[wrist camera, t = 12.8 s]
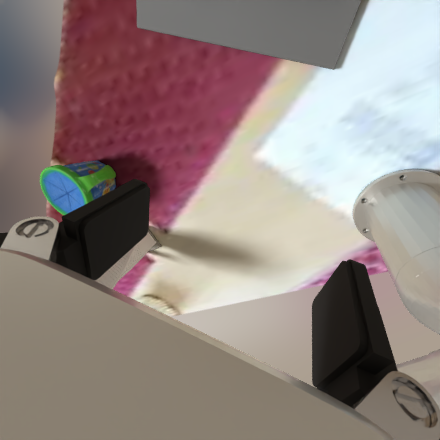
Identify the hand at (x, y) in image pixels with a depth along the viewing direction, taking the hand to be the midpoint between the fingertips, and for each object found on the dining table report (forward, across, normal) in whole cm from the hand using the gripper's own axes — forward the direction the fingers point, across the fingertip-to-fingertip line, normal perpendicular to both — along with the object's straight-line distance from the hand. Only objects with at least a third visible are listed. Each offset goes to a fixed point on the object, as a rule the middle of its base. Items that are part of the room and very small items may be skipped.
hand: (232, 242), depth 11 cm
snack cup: (+28, +35, +19) cm, 49 cm away
